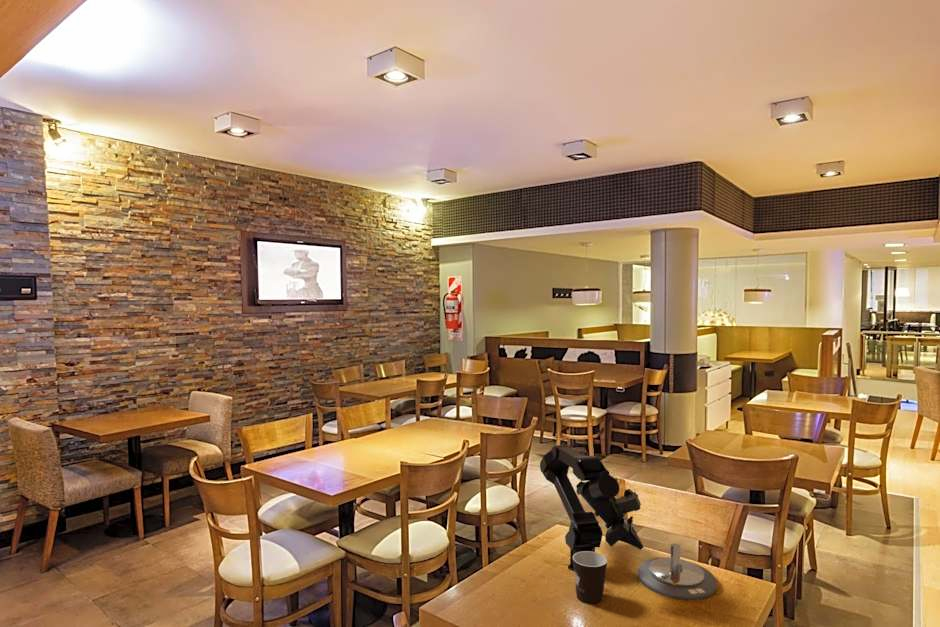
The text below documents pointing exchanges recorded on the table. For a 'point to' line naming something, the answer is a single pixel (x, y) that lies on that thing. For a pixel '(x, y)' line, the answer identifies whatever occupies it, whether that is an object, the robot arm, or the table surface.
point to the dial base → (673, 591)
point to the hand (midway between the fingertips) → (642, 548)
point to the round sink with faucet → (676, 570)
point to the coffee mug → (589, 576)
